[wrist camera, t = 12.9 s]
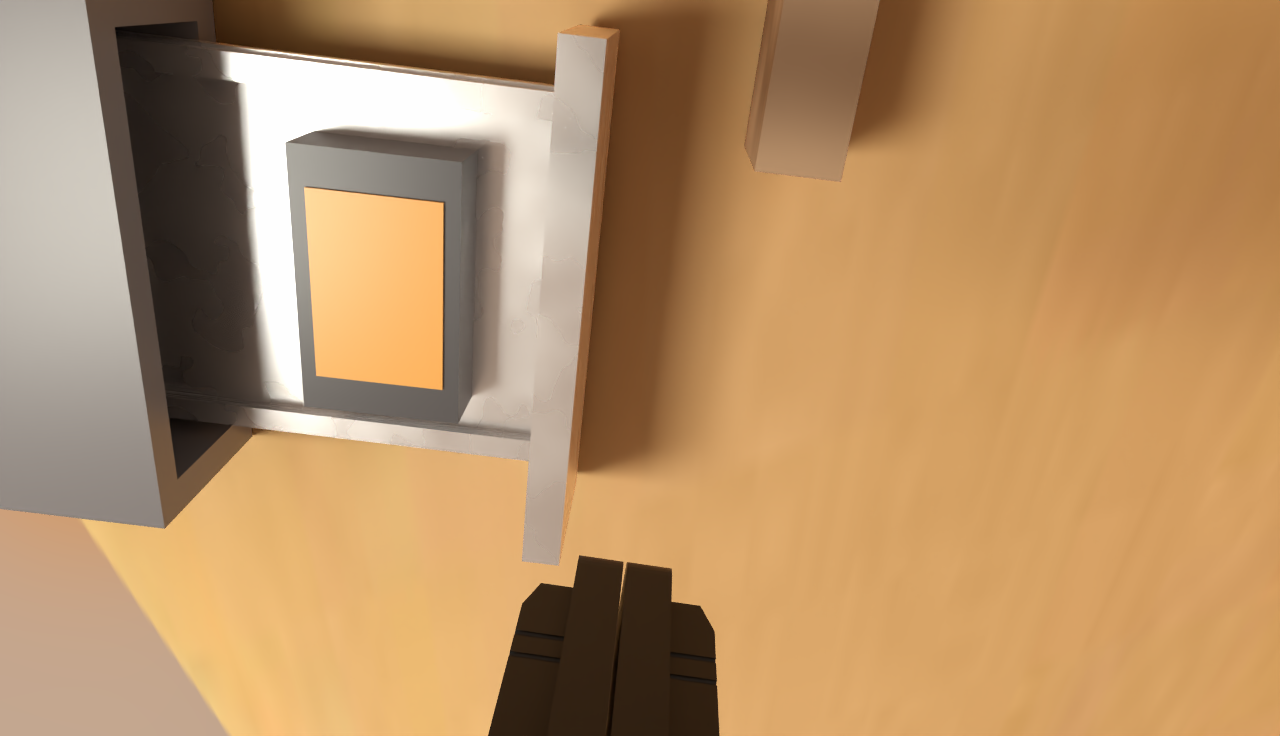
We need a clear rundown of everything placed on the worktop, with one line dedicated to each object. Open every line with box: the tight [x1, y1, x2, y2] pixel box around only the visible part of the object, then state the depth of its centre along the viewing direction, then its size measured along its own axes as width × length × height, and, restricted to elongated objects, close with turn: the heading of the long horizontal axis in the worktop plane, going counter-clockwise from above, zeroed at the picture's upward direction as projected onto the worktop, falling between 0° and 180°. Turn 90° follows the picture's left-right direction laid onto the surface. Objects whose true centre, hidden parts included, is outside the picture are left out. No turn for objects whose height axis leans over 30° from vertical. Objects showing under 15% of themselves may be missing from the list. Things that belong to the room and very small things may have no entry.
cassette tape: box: [285, 131, 478, 424], centre depth 26 cm, size 8×5×2 cm, turn 174°
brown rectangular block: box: [744, 0, 880, 182], centre depth 24 cm, size 6×2×4 cm, turn 173°
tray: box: [115, 24, 620, 566], centre depth 26 cm, size 16×16×5 cm
